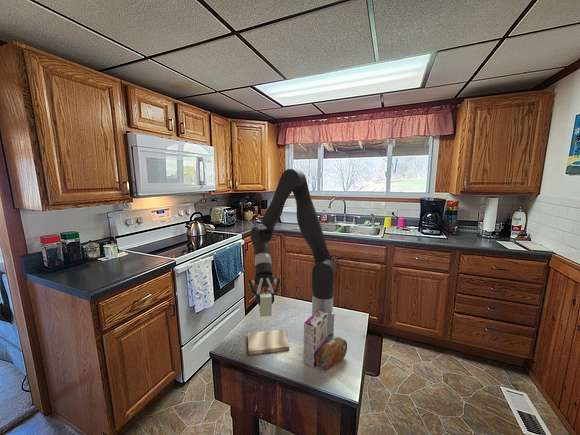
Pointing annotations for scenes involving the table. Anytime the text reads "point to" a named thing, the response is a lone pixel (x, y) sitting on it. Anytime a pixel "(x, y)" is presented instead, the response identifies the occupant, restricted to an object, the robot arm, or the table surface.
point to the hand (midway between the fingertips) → (265, 303)
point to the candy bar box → (315, 336)
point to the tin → (331, 353)
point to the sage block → (265, 304)
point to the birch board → (267, 342)
